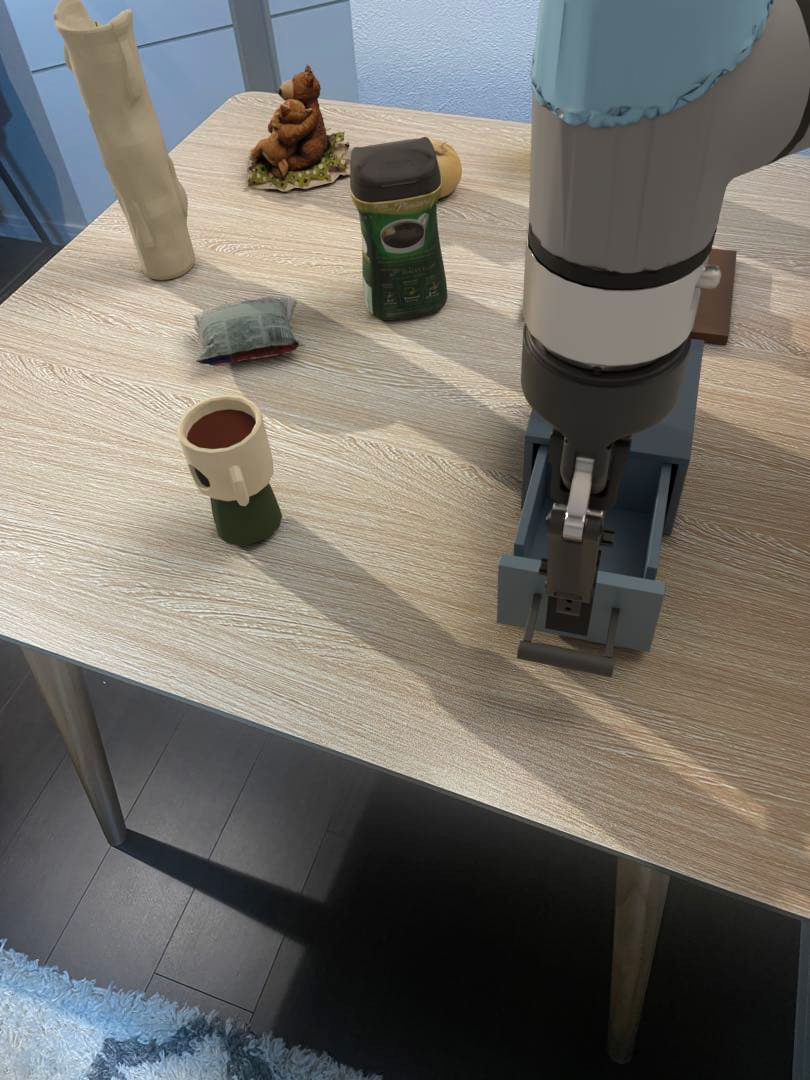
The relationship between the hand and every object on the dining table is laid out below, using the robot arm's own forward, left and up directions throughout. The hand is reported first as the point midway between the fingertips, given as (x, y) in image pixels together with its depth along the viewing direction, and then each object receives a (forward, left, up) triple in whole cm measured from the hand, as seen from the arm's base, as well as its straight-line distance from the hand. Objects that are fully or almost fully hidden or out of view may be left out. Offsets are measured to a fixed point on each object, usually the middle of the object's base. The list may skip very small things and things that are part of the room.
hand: (568, 620), depth 59 cm
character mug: (+31, -14, -15) cm, 37 cm away
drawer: (0, -12, -14) cm, 18 cm away
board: (+1, -57, -14) cm, 59 cm away
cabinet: (0, -29, -14) cm, 32 cm away
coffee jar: (+26, -50, -15) cm, 58 cm away
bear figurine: (+49, -77, -15) cm, 92 cm away
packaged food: (+41, -39, -15) cm, 58 cm away
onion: (+29, -74, -15) cm, 81 cm away
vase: (+57, -52, -15) cm, 79 cm away
